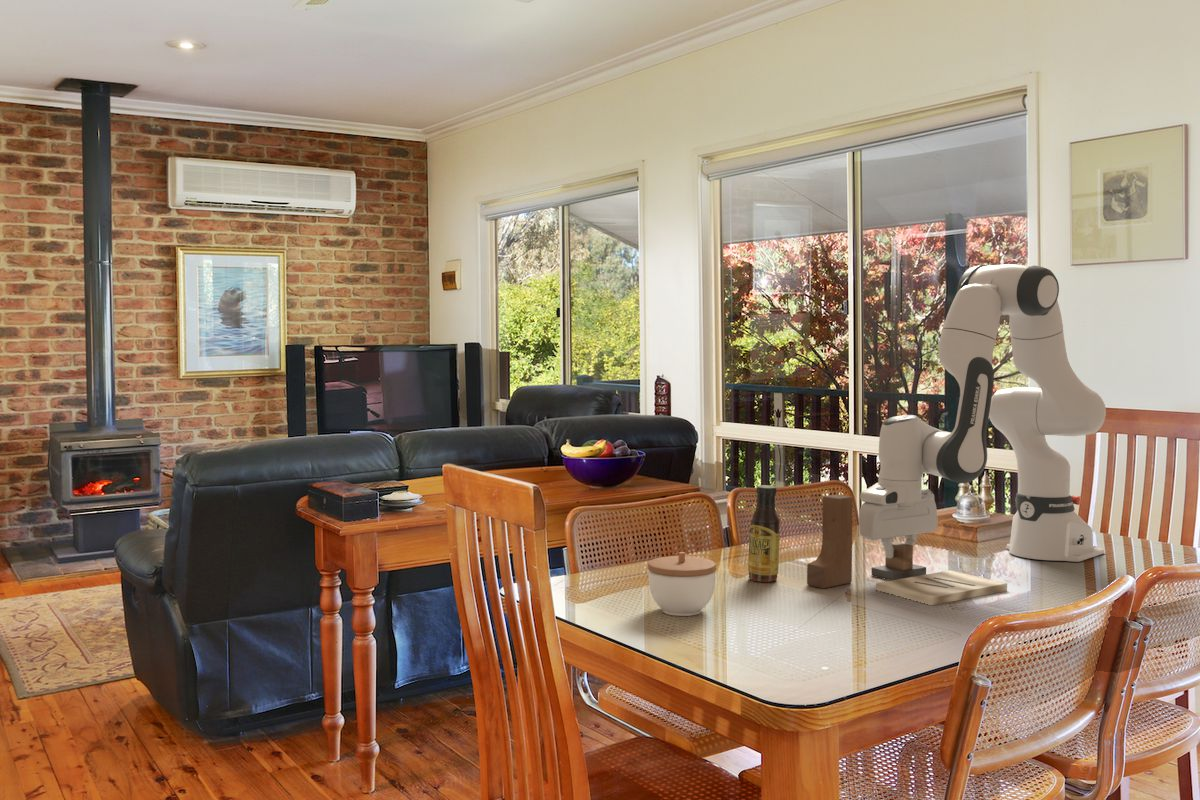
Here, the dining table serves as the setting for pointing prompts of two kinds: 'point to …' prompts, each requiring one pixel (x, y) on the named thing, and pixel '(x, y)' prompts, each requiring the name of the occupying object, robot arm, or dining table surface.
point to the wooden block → (834, 545)
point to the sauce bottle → (764, 537)
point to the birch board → (941, 587)
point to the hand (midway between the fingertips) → (899, 556)
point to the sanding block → (899, 564)
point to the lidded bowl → (681, 583)
